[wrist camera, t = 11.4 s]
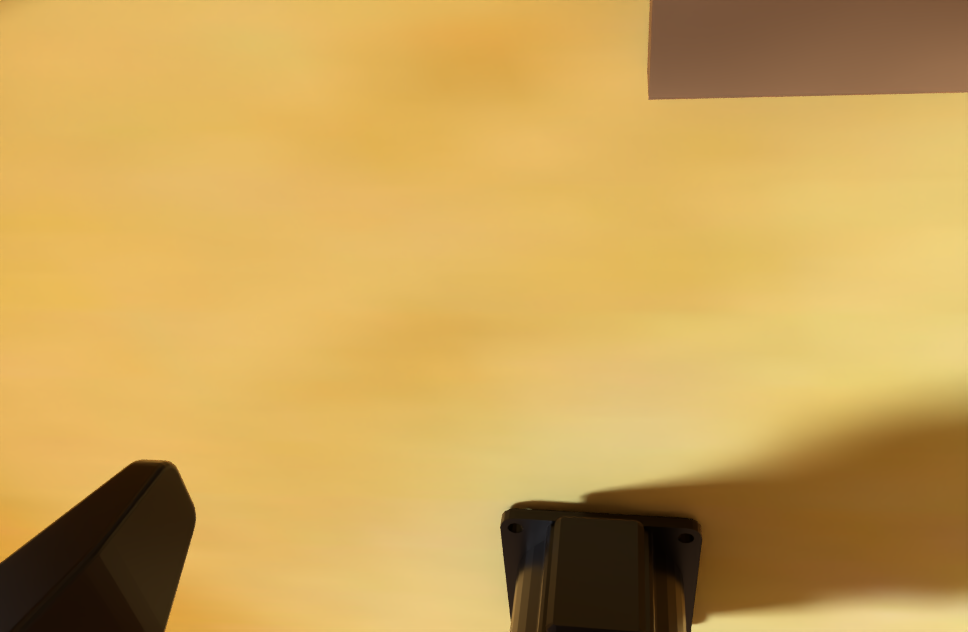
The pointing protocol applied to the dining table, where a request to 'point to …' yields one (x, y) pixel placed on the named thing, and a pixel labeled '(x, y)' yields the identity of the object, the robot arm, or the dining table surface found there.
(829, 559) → the dining table surface
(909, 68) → the cleat board
